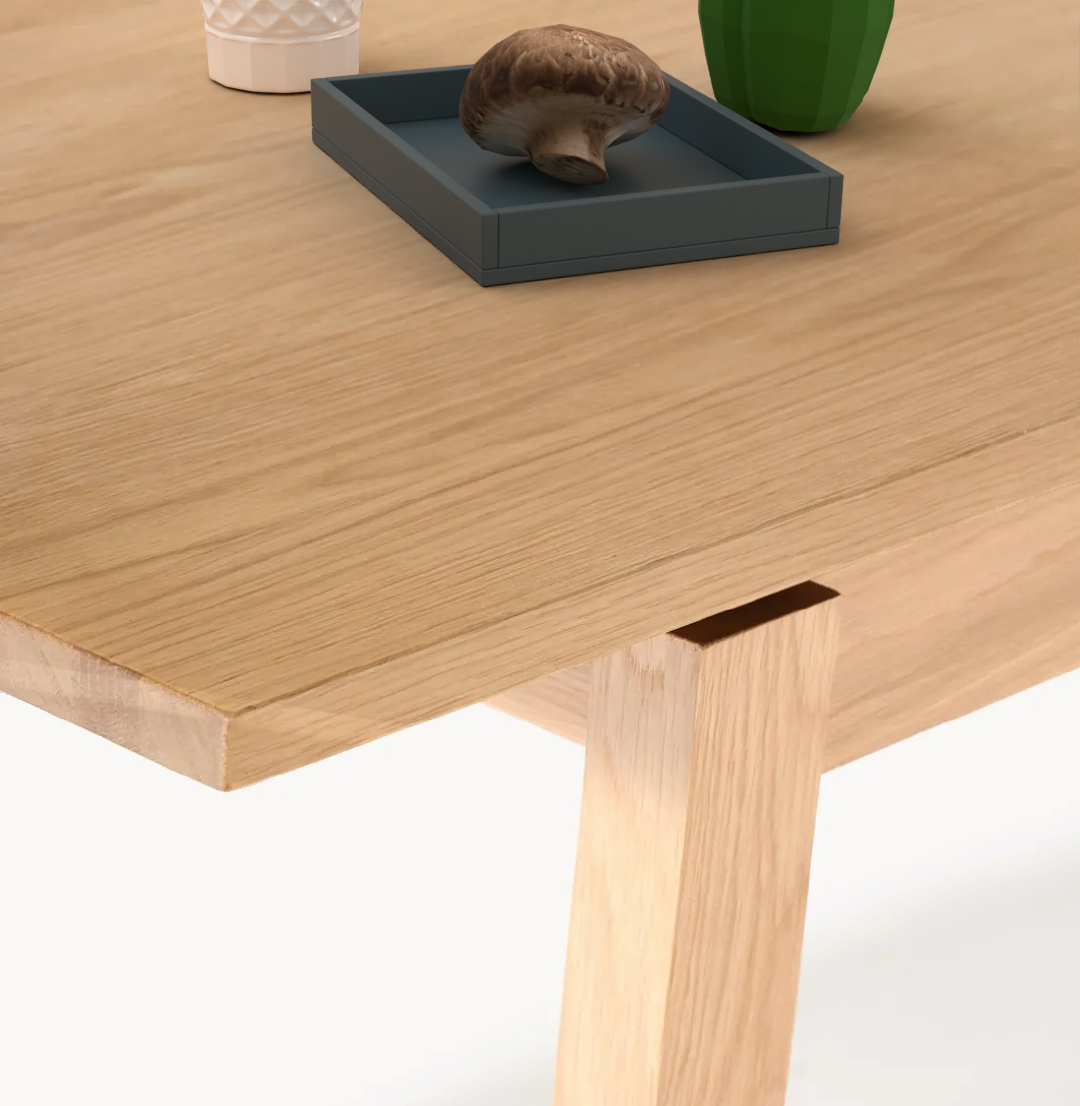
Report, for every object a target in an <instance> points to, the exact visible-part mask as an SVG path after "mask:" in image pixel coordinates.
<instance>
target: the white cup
mask: <svg viewBox="0 0 1080 1106" xmlns="http://www.w3.org/2000/svg"><path fill="white" fill-rule="evenodd" d="M363 10H364V0H199V13H200V15H201V17H202V18H203V20H204V22H203V29H204V31H205V41H206V53H207V66H208V75H209V78H210V79H211V80H213V81H214V82H217V83H218V84H221V86H225V87H228V88H232V89H237V90H242V91H243V90H244V91H248V92H256V93H277V94H278V93H279V94H290V93H300V92H301V93H304V92H311V83H310V80H311V79H315V78H325V77H336V76H347V75H358V74H360V34H361V33H360V32H361V31H360V28H361V22H360V18H361V15H362V13H363Z"/></svg>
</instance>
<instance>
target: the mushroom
mask: <svg viewBox="0 0 1080 1106" xmlns="http://www.w3.org/2000/svg"><path fill="white" fill-rule="evenodd" d="M473 64H474V65H473V67H472V69H471V70H470V72H469V74H468V76H467V79H466V82H465V85H464V88H463V91H462V94H461V98H460V105H459V115H460V122H461V124H462V126H463V128H464V131H465V132H466V133H467V134H468V135H469V137H470V138H471V139H472V140H473V141H474V142H475V143H476V144H477V145H478V146H479V147H480V148H482V149H483V150H487V151H490V152H494V153H497V154H501V155H505V156H519V157H530V159H531V161H532V163H533V164H534V165H535V167H536V168H537V169H538V170H539V171H541V172H543V173H545V174H547V175H549V176H552V177H554V178H556V179H558V180H561V181H565V182H569V183H574V184H580V185H594V184H603V183H605V182H606V181H607V180H609V177H608V174H607V171H606V168H605V162H604V155H605V151H606V149H607V148H610V147H613V146H616V145H619V144H621V143H624V142H627V141H630V140H632V139H635V138H637V137H638V136H640V135H641V134H643V133H644V132H646V131H647V130H649V129H650V128H652V127H654V126H655V125H656V123H657V122H658V120H659V119H660V117H661V116H662V114H663V112H664V111H665V109H666V107H667V105H668V104H669V102H670V95H671V89H670V86H669V83H668V80H667V77H666V75H665V74H664V73H663V71H664V70H663V69H662V68H661V67H660V66H659V65H658V63H656V62H655V61H654V60H653V59H652V58H651V57H649V55H647V54H646V53H645V52H644V51H642V50H641V49H640V48H639V47H637V46H636V45H634V44H633V43H631V42H629V41H628V40H626V39H624V38H621V37H618V36H614V35H610V34H606V33H603V32H599V31H596V30H592V29H589V28H583V27H579V26H574V25H571V24H570V25H569V24H565V23H558V24H552V25H544V26H540V27H533V28H525V29H518V30H517V31H515V32H513V33H511V34H510V35H509V36H507V37H504V38H503V39H502V40H500V41H498V42H497V43H495V44H494V45H493V46H492V47H491V48H489V49H488V50H487V51H486V52H485V53H484V54H483V55H482V56H481V57H480V58H479V59H478V60H477V61H476V62H475V63H473Z"/></svg>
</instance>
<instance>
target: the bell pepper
mask: <svg viewBox="0 0 1080 1106" xmlns="http://www.w3.org/2000/svg"><path fill="white" fill-rule="evenodd" d="M697 2H698V4H697V5H698V6H697V14H698V21H699V25H700V26H699V27H700V33H701V39H702V45H703V46H702V47H703V51H704V56H705V61H706V65H707V66H706V67H707V70H708V75H709V79H710V84H711V89H712V92H713V95H714V98H715V101H716V102H718V103H720V104H721V105H723V106H725V107H727V108H728V109H730V110H732V111H734V112H735V113H737V114H739V115H741V116H742V117H744V118H746V119H747V120H749V121H751V122H754V123H759V124H762V125H765V126H767V127H770V128H773V129H775V130H779V131H789V132H807V133H814V132H822V131H830V130H831V131H832V130H836V129H838V128H839V127H840V126H841V125H843V124H844V123H846V122H847V121H848V120H849V119H850V118H852V116H853V115H854V113H855V112H856V110H857V109H858V108H859V107H860V106H861V104H862V103H863V100H864V98H865V96H866V95H867V93H868V92H869V91H870V87H871V85H872V84H871V83H872V82H873V79H874V76H875V73H876V71H877V68H878V65H879V63H880V60H881V57H882V55H883V54H882V53H883V50H884V47H885V44H886V40H887V37H888V34H889V32H890V28H891V24H892V21H893V19H894V12H895V2H896V1H895V0H698V1H697Z"/></svg>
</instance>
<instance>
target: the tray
mask: <svg viewBox="0 0 1080 1106" xmlns="http://www.w3.org/2000/svg"><path fill="white" fill-rule="evenodd" d="M474 64H475V63H469V64H459V65H450V66H447V65H446V66H438V67H437V66H436V67H427V68H426V67H425V68H416V69H404V70H403V69H402V70H393V71H381V72H370V73H359V74H358V75H347V76H336V77H325V78H315V79H311V80H310V83H311V91H310V116H311V117H310V118H311V141H312V142H313V143H314V144H315V145H316V146H317V147H319V148H320V149H321V150H322V151H323V152H324V153H325V154H327V155H328V156H329V157H330V158H331V159H333V160H334V161H335V162H336V163H337V164H339V166H340V167H342V168H343V169H344V170H345V171H346V172H348V173H349V174H350V175H351V176H352V177H354V178H355V179H356V180H357V181H359V182H360V183H361V184H362V185H363V186H364V187H366V188H367V189H368V190H369V191H370V192H371V193H372V194H373V195H375V196H376V197H377V198H378V199H380V200H381V201H382V202H383V203H384V204H385V205H386V206H388V207H389V208H390V209H391V210H393V212H395V213H396V214H397V215H398V216H399V217H401V218H402V219H403V220H404V222H406V223H408V224H409V226H411V227H412V228H414V229H415V230H416V231H417V232H418V233H419V234H421V236H423V237H424V238H425V239H427V240H428V242H430V243H431V244H432V245H433V246H435V247H436V248H437V249H438V250H439V251H441V253H443V254H444V255H445V256H446V257H447V258H449V259H450V260H451V261H452V262H453V263H455V264H456V265H457V266H458V267H459V268H460V269H462V270H463V271H464V272H465V273H466V274H467V275H469V276H470V277H471V278H472V279H474V280H475V281H476V283H478V284H479V285H481V287H487V286H496V285H504V284H512V283H513V284H514V283H521V282H529V281H530V282H531V281H536V280H537V281H538V280H545V279H546V280H547V279H553V278H563V277H571V276H580V275H586V274H596V273H603V272H604V273H605V272H611V271H619V270H626V269H627V270H628V269H635V268H636V269H637V268H643V267H651V266H652V267H653V266H661V265H669V264H677V263H684V262H685V263H686V262H692V261H701V260H708V259H709V260H710V259H717V258H725V257H733V256H741V255H743V256H744V255H750V254H759V253H767V252H775V251H785V250H791V249H799V248H807V247H816V246H823V245H824V246H825V245H832V244H838V243H839V242H840V235H841V234H840V233H841V229H840V227H841V221H842V220H841V219H842V208H843V207H842V205H843V194H844V182H845V181H844V180H845V176H844V175H845V174H843V173H842V172H840V171H838V170H836V169H835V168H833V167H831V166H829V165H827V164H826V163H824V162H822V161H821V160H819V159H817V158H816V157H813V156H812V155H810V154H808V153H806V152H805V151H803V150H801V149H800V148H798V147H796V146H794V145H793V144H791V143H789V142H787V141H786V140H784V139H782V138H781V137H779V136H777V135H776V134H774V133H772V132H770V131H768V130H767V129H765V128H763V127H762V126H759V125H758V124H756V123H755V122H754V121H749V120H747V119H746V118H744V117H742V116H741V115H739V114H737V113H735V112H734V111H732V110H730V109H728V108H727V107H725V106H723V105H721V104H720V103H718V102H717V100H715V99H713V98H711V97H709V96H708V95H706V94H704V93H703V92H701V91H699V90H697V89H695V88H694V87H692V86H691V85H689V84H687V83H685V82H683V81H682V80H680V79H678V78H676V77H674V76H673V75H671V74H669V73H668V72H665V71H664V70H662V71H663V73H664V74H665V75H666V77H667V80H668V83H669V86H670V89H671V95H670V102H669V104H668V105H667V107H666V109H665V111H664V112H663V114H662V116H661V117H660V119H659V120H658V122H657V123H656V125H655V126H654V127H652V128H650V129H649V130H647V131H646V132H644V133H643V134H641V135H640V136H638V137H637V138H635V139H632V140H630V141H627V142H624V143H621V144H619V145H616V146H613V147H610V148H607V149H606V151H605V155H604V162H605V168H606V171H607V174H608V177H609V180H607V181H606V182H605V183H603V184H594V185H580V184H574V183H569V182H565V181H561V180H558V179H556V178H554V177H552V176H549V175H547V174H545V173H543V172H541V171H539V170H538V169H537V168H536V167H535V165H534V164H533V163H532V161H531V159H530V157H519V156H505V155H501V154H497V153H494V152H490V151H487V150H483V149H482V148H480V147H479V146H478V145H477V144H476V143H475V142H474V141H473V140H472V139H471V138H470V137H469V135H468V134H467V133H466V132H465V131H464V128H463V126H462V124H461V122H460V115H459V105H460V98H461V94H462V91H463V88H464V85H465V82H466V79H467V76H468V74H469V72H470V70H471V69H472V67H473V65H474Z"/></svg>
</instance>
